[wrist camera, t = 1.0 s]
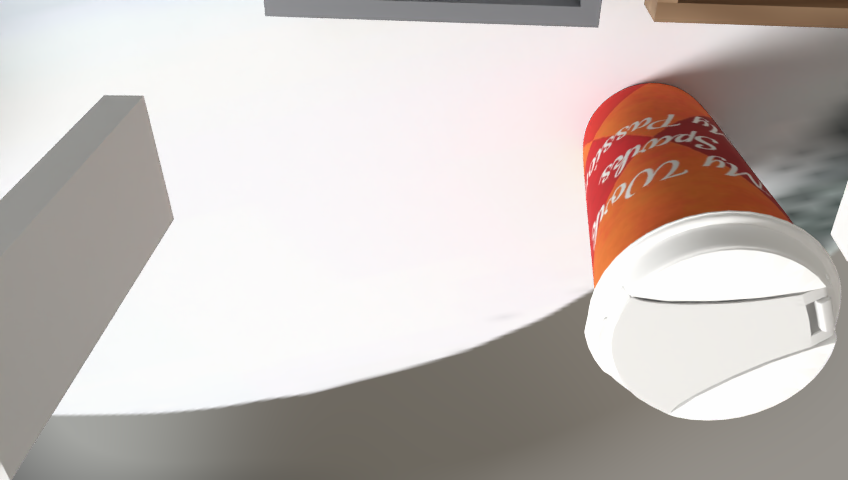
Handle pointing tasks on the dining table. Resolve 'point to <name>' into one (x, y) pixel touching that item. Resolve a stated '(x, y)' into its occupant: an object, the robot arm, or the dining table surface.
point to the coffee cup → (697, 265)
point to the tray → (752, 12)
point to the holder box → (447, 11)
